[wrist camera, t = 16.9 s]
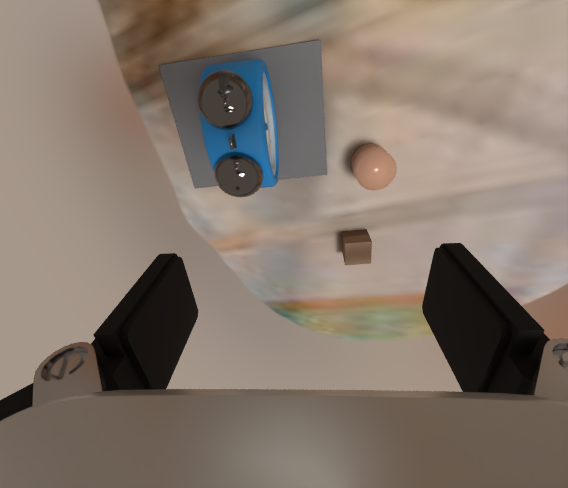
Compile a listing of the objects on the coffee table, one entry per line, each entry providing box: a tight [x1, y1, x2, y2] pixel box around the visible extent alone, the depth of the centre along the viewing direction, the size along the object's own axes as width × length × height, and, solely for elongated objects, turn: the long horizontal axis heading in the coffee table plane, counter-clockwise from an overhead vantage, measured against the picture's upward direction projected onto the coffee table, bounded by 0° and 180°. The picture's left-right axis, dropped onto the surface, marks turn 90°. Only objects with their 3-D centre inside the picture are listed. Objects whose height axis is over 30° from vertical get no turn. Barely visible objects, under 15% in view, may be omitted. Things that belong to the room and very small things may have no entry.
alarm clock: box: [198, 59, 279, 197], centre depth 31 cm, size 13×6×15 cm, turn 6°
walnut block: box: [342, 229, 372, 265], centre depth 46 cm, size 4×4×4 cm
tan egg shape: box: [351, 143, 397, 190], centre depth 38 cm, size 5×5×5 cm
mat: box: [159, 40, 327, 188], centre depth 38 cm, size 16×20×1 cm
